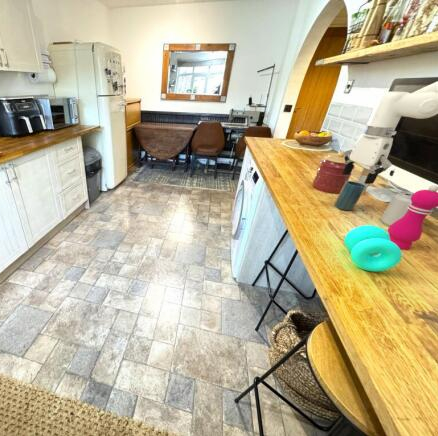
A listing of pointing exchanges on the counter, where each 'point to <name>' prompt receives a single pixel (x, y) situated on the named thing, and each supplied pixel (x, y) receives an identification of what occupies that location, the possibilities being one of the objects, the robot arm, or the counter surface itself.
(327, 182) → the kitchen canister
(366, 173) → the sprinkles bottle
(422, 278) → the counter surface
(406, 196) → the can
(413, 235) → the pepper mill
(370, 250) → the donuts
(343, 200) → the cup
